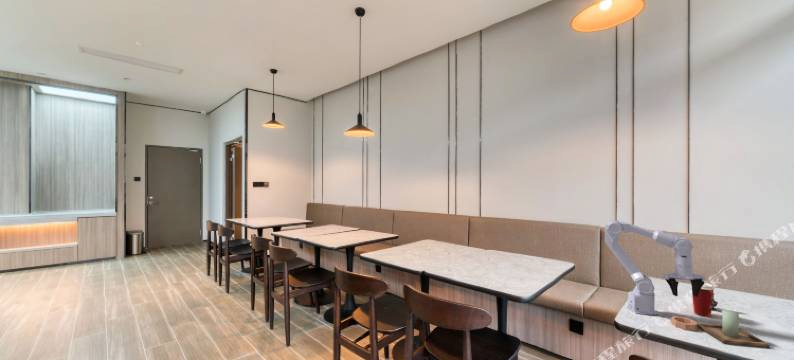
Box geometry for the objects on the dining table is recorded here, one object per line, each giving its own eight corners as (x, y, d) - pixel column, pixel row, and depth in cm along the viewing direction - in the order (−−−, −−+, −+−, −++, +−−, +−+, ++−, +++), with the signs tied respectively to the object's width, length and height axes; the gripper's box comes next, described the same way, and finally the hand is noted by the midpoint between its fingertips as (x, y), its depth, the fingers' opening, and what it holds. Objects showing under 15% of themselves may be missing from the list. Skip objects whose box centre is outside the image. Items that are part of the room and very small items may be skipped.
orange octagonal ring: (679, 329, 126) (679, 323, 126) (667, 321, 133) (667, 315, 133) (701, 331, 124) (701, 325, 124) (688, 322, 132) (688, 317, 132)
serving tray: (723, 343, 115) (723, 340, 115) (696, 326, 129) (696, 322, 129) (769, 348, 112) (769, 344, 112) (736, 329, 126) (736, 326, 126)
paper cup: (719, 318, 135) (719, 287, 135) (698, 317, 137) (698, 286, 137) (705, 311, 143) (705, 281, 143) (686, 309, 145) (686, 280, 145)
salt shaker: (697, 306, 149) (697, 281, 149) (708, 305, 149) (708, 281, 149) (710, 311, 143) (710, 286, 143) (721, 311, 143) (721, 285, 143)
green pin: (728, 337, 119) (728, 314, 119) (719, 331, 123) (719, 309, 123) (742, 338, 118) (742, 315, 118) (732, 332, 122) (732, 310, 122)
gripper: (670, 267, 133) (672, 298, 133) (709, 267, 130) (711, 299, 130) (660, 263, 140) (661, 292, 140) (697, 263, 137) (699, 293, 137)
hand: (685, 295), depth 135 cm, fingers open, 7 cm apart
